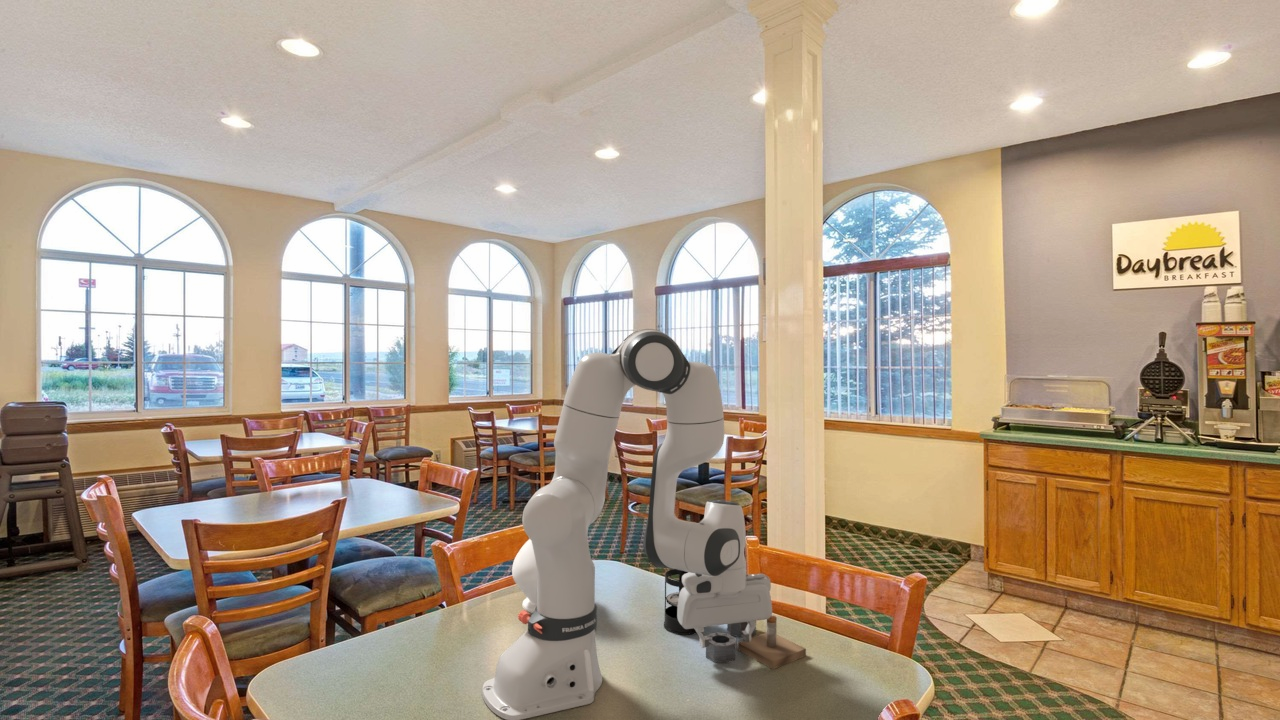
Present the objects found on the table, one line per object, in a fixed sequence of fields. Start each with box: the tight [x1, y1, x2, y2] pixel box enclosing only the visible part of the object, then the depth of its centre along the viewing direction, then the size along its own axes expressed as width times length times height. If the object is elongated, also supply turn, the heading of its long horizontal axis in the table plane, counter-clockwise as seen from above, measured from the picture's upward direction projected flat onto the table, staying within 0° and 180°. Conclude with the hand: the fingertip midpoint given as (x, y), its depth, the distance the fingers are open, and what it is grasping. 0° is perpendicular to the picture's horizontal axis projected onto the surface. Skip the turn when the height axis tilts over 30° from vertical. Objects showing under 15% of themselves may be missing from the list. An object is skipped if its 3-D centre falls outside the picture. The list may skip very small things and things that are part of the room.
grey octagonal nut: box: [705, 632, 736, 664], centre depth 126 cm, size 6×6×4 cm
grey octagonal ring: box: [726, 622, 757, 639], centre depth 138 cm, size 6×6×4 cm
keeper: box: [737, 614, 807, 670], centre depth 128 cm, size 10×10×8 cm
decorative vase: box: [511, 538, 537, 614], centre depth 153 cm, size 18×18×25 cm
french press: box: [663, 569, 697, 636], centre depth 141 cm, size 12×9×23 cm
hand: (725, 643), depth 125 cm, fingers open, 8 cm apart
